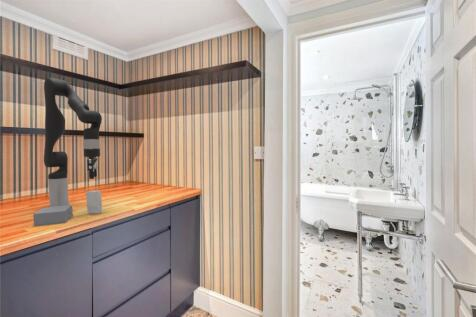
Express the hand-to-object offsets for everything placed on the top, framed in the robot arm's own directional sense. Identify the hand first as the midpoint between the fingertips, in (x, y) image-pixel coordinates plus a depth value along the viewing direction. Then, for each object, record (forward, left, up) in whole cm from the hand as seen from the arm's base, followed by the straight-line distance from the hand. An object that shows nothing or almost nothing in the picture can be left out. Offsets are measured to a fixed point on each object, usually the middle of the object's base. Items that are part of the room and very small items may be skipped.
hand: (93, 177), depth 126 cm
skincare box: (0, 0, -20) cm, 20 cm away
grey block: (+7, -16, -20) cm, 26 cm away
